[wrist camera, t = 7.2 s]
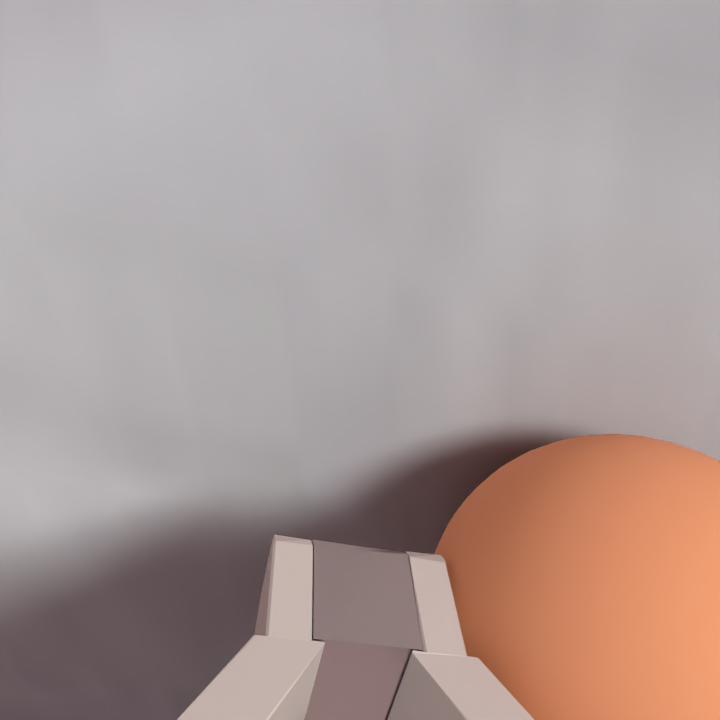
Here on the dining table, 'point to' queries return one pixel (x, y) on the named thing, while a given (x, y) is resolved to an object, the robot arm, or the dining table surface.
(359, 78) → the dining table surface
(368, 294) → the dining table surface
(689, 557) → the ball
